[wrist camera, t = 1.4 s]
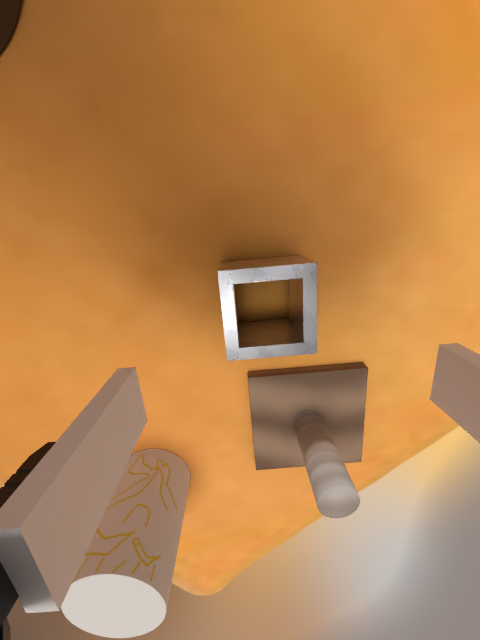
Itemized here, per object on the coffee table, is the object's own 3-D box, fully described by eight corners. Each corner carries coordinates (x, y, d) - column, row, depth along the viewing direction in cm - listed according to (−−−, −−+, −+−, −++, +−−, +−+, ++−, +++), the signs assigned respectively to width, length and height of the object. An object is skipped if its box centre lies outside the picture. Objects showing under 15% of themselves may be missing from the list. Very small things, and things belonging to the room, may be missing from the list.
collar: (221, 261, 25) (217, 271, 19) (298, 255, 25) (317, 262, 19) (229, 333, 27) (227, 360, 21) (299, 327, 27) (316, 353, 21)
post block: (247, 372, 28) (253, 446, 19) (362, 362, 28) (429, 431, 18) (255, 461, 32) (263, 561, 22) (356, 453, 32) (409, 550, 22)
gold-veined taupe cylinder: (188, 448, 31) (162, 573, 20) (191, 500, 34) (169, 637, 22) (118, 448, 31) (50, 574, 20) (126, 500, 34) (71, 638, 22)
